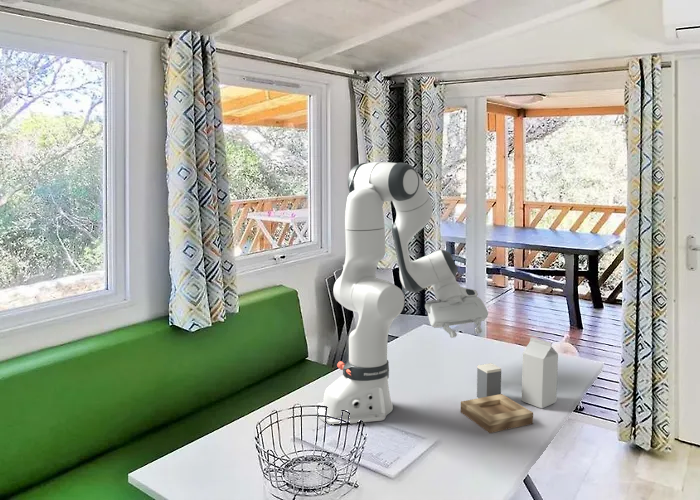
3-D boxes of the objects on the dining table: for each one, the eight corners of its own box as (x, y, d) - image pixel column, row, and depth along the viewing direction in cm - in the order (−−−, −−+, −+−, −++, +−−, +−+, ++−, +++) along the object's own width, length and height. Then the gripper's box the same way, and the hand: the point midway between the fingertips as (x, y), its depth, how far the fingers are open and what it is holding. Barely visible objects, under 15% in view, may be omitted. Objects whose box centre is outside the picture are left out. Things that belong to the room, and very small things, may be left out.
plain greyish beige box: (486, 403, 169) (487, 370, 168) (476, 396, 174) (477, 365, 172) (500, 400, 171) (501, 368, 170) (490, 394, 176) (491, 363, 174)
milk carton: (541, 409, 165) (544, 345, 162) (521, 401, 170) (523, 339, 167) (556, 403, 169) (558, 340, 166) (535, 395, 174) (537, 335, 172)
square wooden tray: (489, 433, 150) (489, 421, 150) (460, 412, 163) (460, 401, 163) (532, 423, 155) (533, 412, 155) (501, 404, 168) (501, 393, 168)
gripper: (426, 296, 183) (442, 334, 176) (480, 289, 190) (497, 325, 183) (419, 306, 188) (434, 344, 180) (472, 300, 195) (489, 335, 188)
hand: (466, 334), depth 182 cm, fingers open, 8 cm apart
